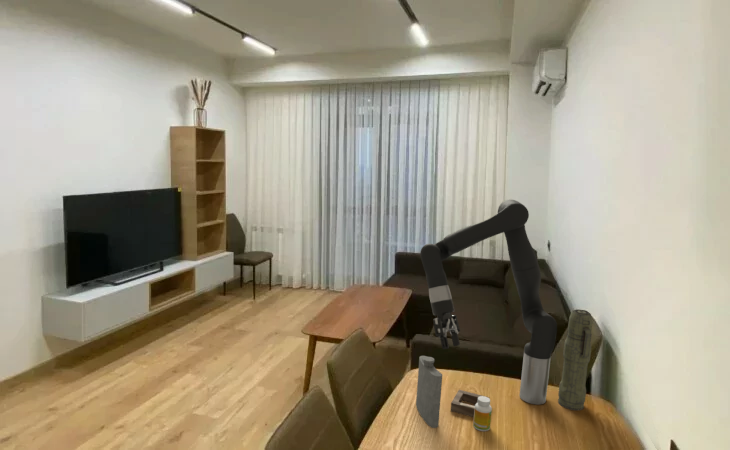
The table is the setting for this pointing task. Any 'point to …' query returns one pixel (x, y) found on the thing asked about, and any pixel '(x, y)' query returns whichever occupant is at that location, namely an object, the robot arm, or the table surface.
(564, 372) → the olive fabric bag
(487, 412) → the supplement bottle
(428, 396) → the hip flask
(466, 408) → the socket block
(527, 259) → the robot arm
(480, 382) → the table surface
